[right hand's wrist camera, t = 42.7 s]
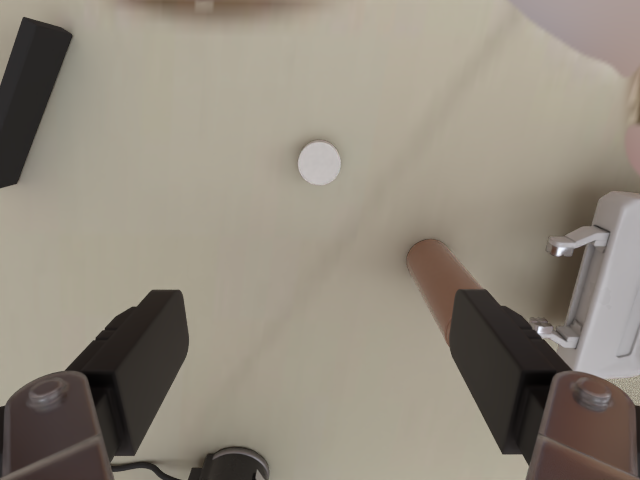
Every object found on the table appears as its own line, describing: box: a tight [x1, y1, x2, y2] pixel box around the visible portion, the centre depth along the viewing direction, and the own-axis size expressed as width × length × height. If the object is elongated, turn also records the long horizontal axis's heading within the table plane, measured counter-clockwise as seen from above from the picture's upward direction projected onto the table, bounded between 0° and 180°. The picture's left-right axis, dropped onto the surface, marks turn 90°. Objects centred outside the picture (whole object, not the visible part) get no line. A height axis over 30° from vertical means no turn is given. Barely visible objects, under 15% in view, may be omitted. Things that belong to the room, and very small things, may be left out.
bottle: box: [406, 239, 483, 347], centre depth 35 cm, size 5×5×20 cm
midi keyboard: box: [0, 17, 72, 188], centre depth 36 cm, size 18×1×5 cm, turn 147°
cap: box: [298, 140, 341, 185], centre depth 40 cm, size 4×4×2 cm
